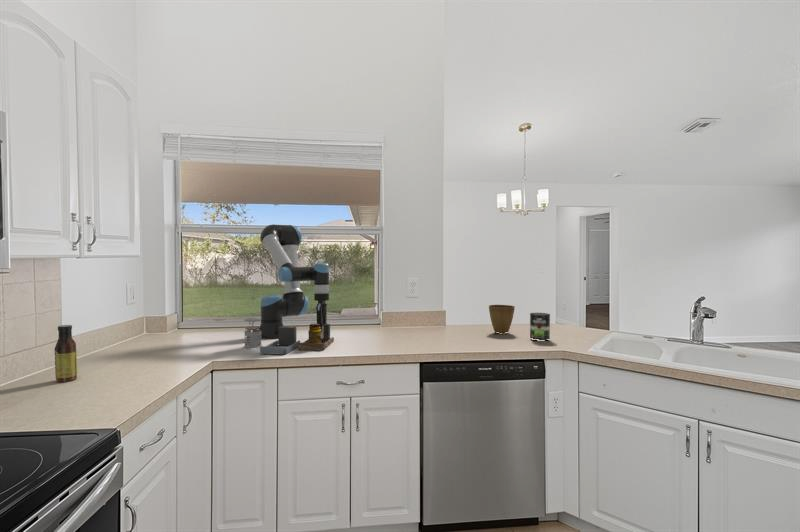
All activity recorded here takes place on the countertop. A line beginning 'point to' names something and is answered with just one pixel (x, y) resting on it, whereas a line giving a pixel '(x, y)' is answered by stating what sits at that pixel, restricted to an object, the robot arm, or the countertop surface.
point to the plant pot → (501, 317)
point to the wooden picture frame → (318, 346)
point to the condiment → (314, 333)
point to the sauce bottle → (65, 355)
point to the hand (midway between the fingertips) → (321, 337)
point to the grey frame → (282, 342)
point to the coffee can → (540, 326)
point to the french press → (252, 333)
